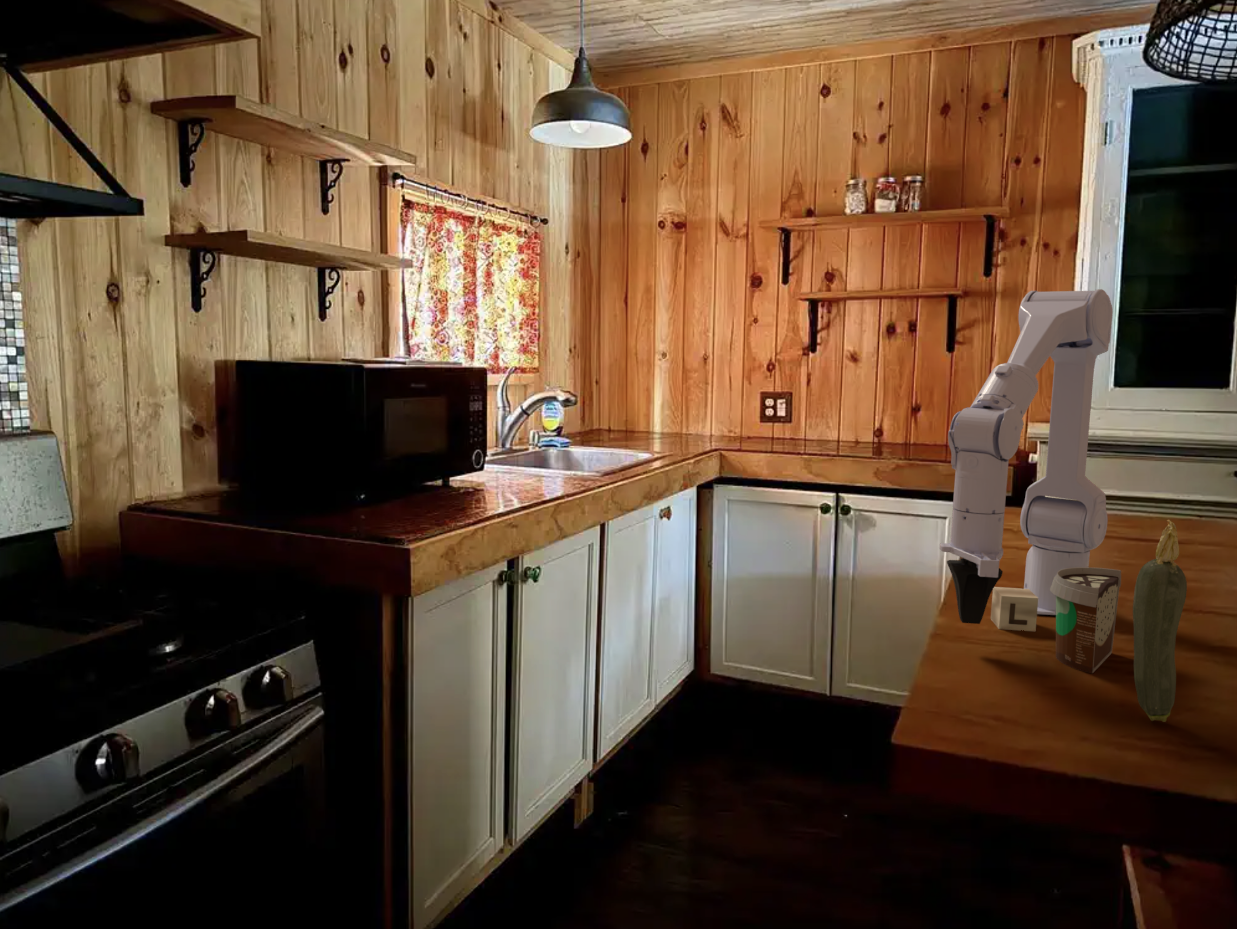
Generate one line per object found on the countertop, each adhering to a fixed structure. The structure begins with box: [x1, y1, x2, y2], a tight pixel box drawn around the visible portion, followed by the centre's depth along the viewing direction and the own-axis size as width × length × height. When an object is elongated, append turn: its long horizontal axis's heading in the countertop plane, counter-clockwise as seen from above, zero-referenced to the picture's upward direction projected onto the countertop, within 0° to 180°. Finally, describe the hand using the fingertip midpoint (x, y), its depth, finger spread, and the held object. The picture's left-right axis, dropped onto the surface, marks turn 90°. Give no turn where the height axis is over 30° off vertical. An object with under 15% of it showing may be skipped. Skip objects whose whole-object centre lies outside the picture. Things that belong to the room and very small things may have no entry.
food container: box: [1050, 567, 1122, 674], centre depth 110 cm, size 12×6×10 cm, turn 141°
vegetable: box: [1132, 519, 1188, 723], centre depth 91 cm, size 4×4×20 cm
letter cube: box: [990, 586, 1038, 632], centre depth 123 cm, size 5×4×4 cm
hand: (970, 621), depth 112 cm, fingers closed
